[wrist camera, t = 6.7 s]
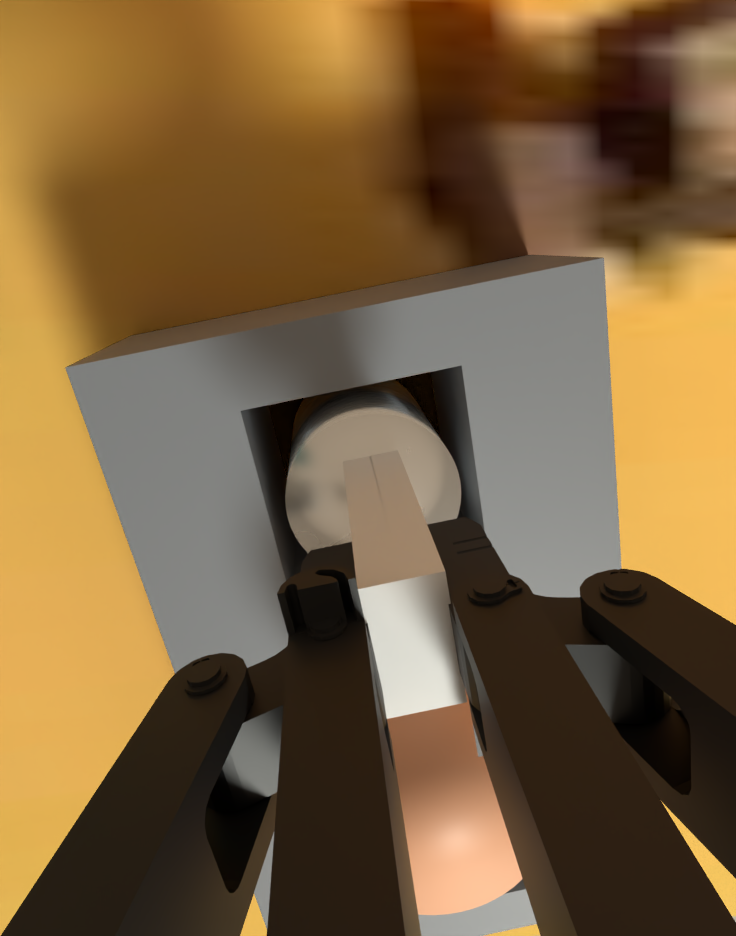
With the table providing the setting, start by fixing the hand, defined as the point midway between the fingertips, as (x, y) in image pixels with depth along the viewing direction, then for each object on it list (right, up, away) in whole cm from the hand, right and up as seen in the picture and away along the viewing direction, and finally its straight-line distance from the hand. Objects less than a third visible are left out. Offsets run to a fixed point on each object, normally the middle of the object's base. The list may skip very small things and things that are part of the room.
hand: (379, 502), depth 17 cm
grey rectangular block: (+1, -4, +9) cm, 10 cm away
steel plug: (-1, +2, +6) cm, 7 cm away
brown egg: (+1, -6, +4) cm, 7 cm away
